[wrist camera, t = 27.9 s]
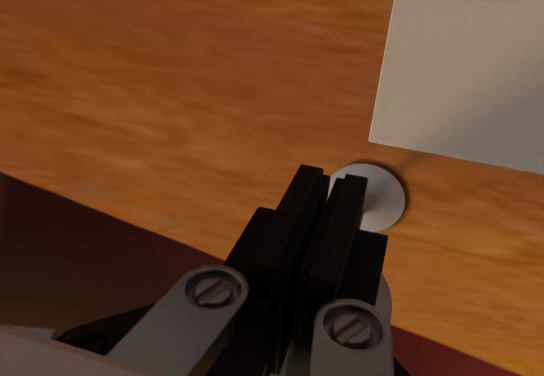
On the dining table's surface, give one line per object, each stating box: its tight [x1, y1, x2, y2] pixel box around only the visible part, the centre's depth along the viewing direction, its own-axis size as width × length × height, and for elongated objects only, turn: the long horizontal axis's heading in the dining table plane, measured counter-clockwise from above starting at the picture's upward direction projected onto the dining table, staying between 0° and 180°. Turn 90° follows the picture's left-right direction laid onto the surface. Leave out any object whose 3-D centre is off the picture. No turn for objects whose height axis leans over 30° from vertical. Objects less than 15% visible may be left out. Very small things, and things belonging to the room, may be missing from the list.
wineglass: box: [270, 163, 405, 376], centre depth 37 cm, size 8×8×21 cm
